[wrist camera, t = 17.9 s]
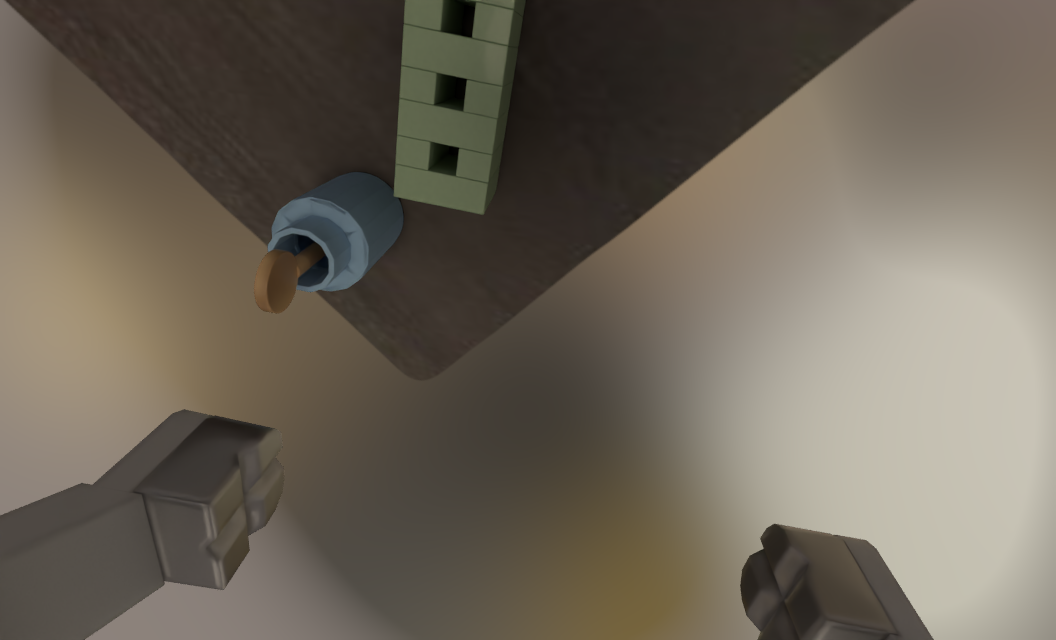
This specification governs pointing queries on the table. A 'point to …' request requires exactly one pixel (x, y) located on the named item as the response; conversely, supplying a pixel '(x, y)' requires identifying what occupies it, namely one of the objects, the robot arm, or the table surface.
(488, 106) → the stand
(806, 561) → the robot arm
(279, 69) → the table surface
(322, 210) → the bottle
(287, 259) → the spoon
